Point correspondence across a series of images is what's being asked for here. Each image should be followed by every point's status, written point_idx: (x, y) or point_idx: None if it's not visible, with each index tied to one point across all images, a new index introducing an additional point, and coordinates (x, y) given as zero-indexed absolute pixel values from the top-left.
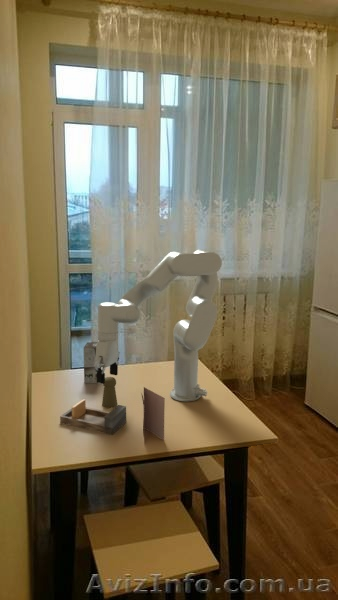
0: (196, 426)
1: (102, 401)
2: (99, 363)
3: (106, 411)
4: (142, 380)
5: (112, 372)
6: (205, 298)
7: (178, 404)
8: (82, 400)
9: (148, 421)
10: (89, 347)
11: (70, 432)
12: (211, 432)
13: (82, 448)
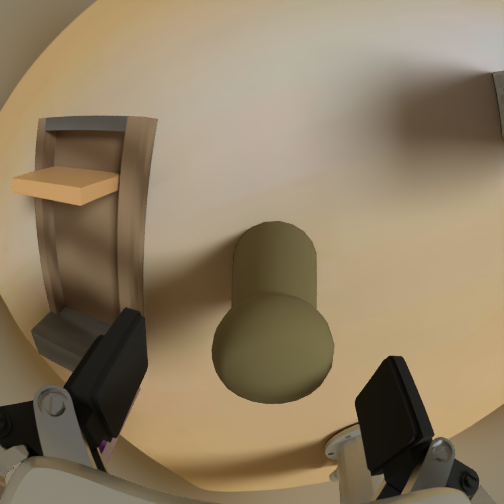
0: (198, 455)
1: (257, 235)
2: (1, 494)
3: (129, 298)
4: (501, 315)
5: (377, 392)
6: None
7: (308, 439)
8: (68, 193)
9: None
10: None
11: None
12: (185, 463)
13: (5, 261)
